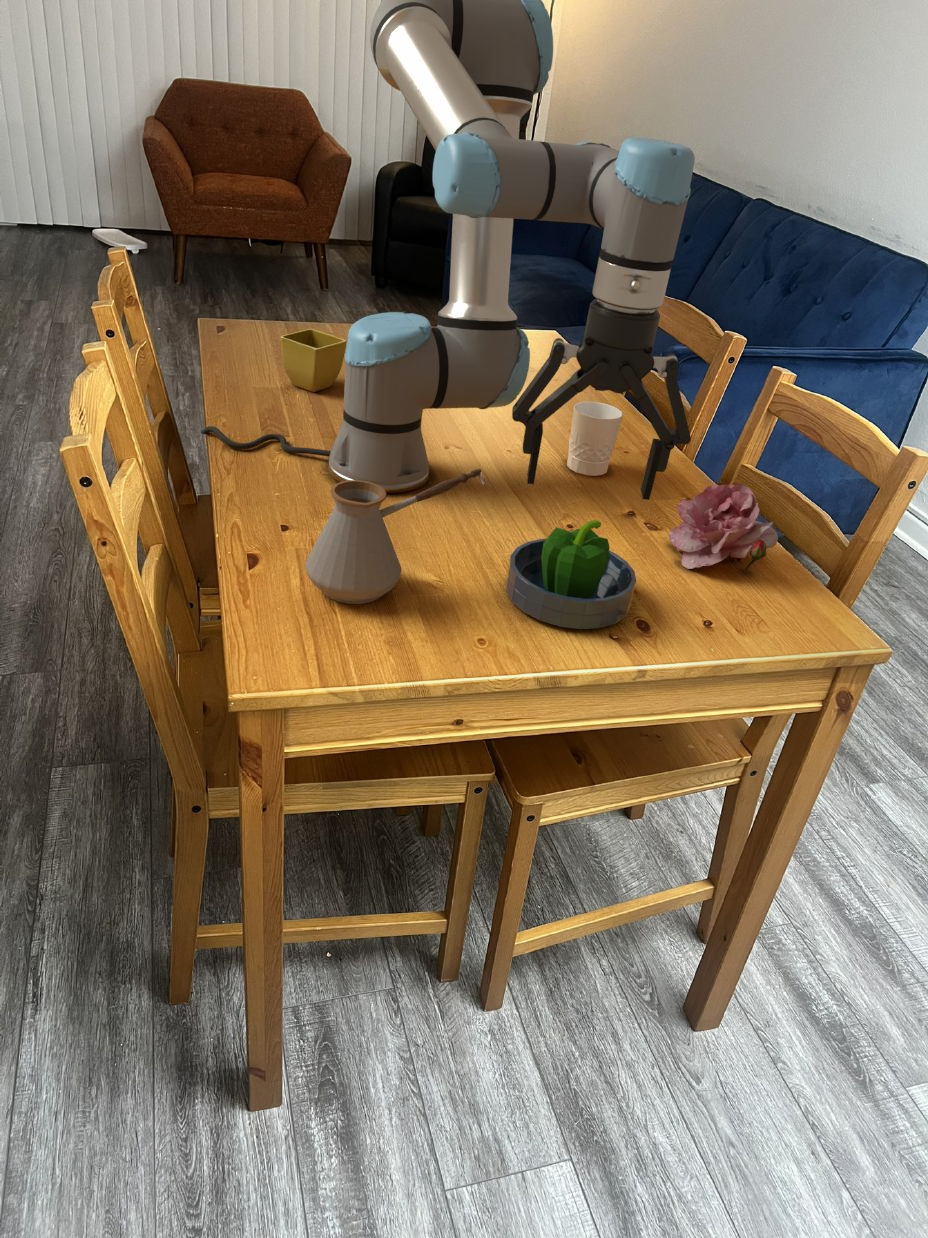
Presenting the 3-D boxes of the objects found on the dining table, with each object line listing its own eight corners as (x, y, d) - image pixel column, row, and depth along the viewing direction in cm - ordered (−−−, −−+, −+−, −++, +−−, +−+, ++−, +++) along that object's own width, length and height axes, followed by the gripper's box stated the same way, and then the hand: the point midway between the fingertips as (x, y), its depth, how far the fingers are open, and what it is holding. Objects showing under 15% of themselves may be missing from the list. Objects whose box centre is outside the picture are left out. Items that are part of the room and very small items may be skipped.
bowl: (504, 623, 112) (509, 591, 109) (506, 561, 125) (511, 531, 123) (634, 640, 112) (642, 608, 110) (622, 576, 125) (629, 546, 123)
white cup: (608, 481, 152) (621, 422, 147) (560, 472, 153) (571, 413, 148) (611, 463, 159) (623, 406, 154) (565, 455, 160) (576, 398, 154)
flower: (698, 504, 141) (713, 452, 133) (785, 552, 135) (806, 501, 127) (641, 556, 134) (654, 505, 126) (731, 610, 127) (750, 559, 120)
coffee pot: (316, 617, 108) (321, 498, 100) (295, 568, 117) (298, 455, 109) (487, 600, 116) (504, 489, 108) (455, 555, 125) (469, 449, 117)
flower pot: (345, 387, 175) (348, 339, 171) (315, 398, 169) (317, 348, 164) (309, 375, 179) (310, 327, 174) (278, 385, 172) (278, 336, 168)
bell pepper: (545, 613, 114) (559, 539, 108) (528, 578, 120) (540, 507, 115) (610, 612, 116) (627, 540, 110) (589, 578, 122) (604, 508, 117)
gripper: (508, 296, 96) (481, 486, 107) (750, 330, 96) (697, 515, 108) (509, 279, 102) (483, 459, 114) (736, 310, 103) (687, 487, 114)
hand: (587, 487), depth 111 cm, fingers open, 13 cm apart
